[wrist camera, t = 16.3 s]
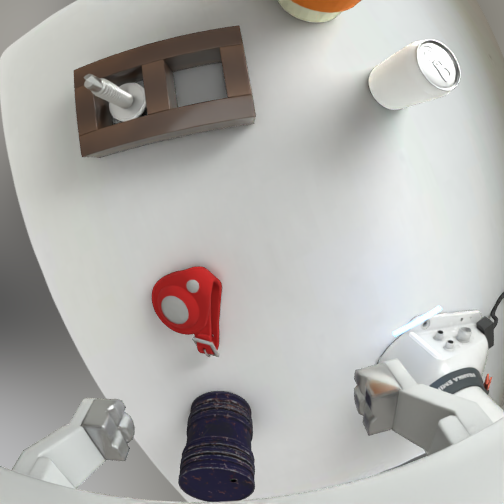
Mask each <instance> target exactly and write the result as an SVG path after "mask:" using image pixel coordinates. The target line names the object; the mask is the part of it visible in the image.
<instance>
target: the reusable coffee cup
mask: <svg viewBox="0 0 504 504" xmlns="http://www.w3.org/2000/svg"><path fill="white" fill-rule="evenodd" d="M360 1H361V0H278V2H279V4H280V5H281V7H282V8H283V9H284V10H285V11H286V12H287V13H289V14H290V15H292V16H294V17H296V18H297V19H300V20H303V21H307V22H313V23H321V22H327V21H330V20H332V19H334V18H335V17H337V16H338V15H339V14H340V13H341V12H342V11H345V10H348V9H350V8H352V7H354V6H355V5H356V4H357V3H358V2H360Z"/></svg>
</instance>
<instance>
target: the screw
mask: <svg viewBox="0 0 504 504" xmlns="http://www.w3.org/2000/svg"><path fill="white" fill-rule="evenodd" d="M84 79H86V81H85V83H84V86H85V87H86V88H87V89H89V90H91V92H92V93H93V94H94V95H95V96H97V97H99V98H101V99H104V100H106V101H108V102H109V109H110V112H111V114H112V116H113V117H114V118H115V119H117V120H119V121H122V122H124V121H128V120H131V119H135V118H138V117H139V116H140V115H141V114H142V113H143V112H144V110H145V108H146V99H145V91H144V88H143V87H142V86H140V85H139V84H137V83H126V84H123V85H121V86H120V87H118V86H117V85H115V84H113V83H112V82H110V81H109V80H106V79H104V78H98V77H96V76H94V75H92V74H87V75H86V76H85V77H84Z"/></svg>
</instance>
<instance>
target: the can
mask: <svg viewBox="0 0 504 504" xmlns="http://www.w3.org/2000/svg"><path fill="white" fill-rule="evenodd" d="M459 81H460V68H459V64H458V62H457V60H456V58H455V56H454V55H453V53H452V52H451V51H450V50H449V49H448V48H447V47H446V46H445V45H444V44H442V43H441V42H439V41H436V40H432V39H427V40H419V41H415V42H413V43H411V44H409V45H407V46H406V47H404V48H403V49H401V50H400V51H398V52H396V53H395V54H393V55H392V56H390V57H389V58H387V59H386V60H384V61H383V62H382V63H380V64H379V65H377V66H376V67H375V68H374V69H373V70H372V71H371V73H370V76H369V88H370V91H371V93H372V95H373V97H374V98H375V99H376V101H377V102H378V103H379V104H381V105H382V106H384V107H386V108H388V109H391V110H399V109H403V108H407V107H410V106H413V105H417V104H420V103H424V102H427V101H430V100H434V99H437V98H441V97H443V96H446V95H448V94H449V93H450V92H451V91H452V90H453V89H455V88H456V87H457V86H458V84H459Z"/></svg>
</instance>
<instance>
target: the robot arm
mask: <svg viewBox="0 0 504 504" xmlns="http://www.w3.org/2000/svg"><path fill="white" fill-rule="evenodd" d="M503 298H504V293H503V294H502V295H501V296H500V297H499V299H498V300H497V302H496V304H495V306H494V308H493V310H492V313H491V317H492V318H493V319H494V323H493V322H492V321H491V320H489V319H488V318H486V317H485V316H484V317H482V315H481V313H480V312H479V311H478V310H471V311H461V312H451V313H440V314H436V313H438V312H440V311H441V310H442V308H441V307H440V306H438V307H436V308H435V309H433V310H431V311H430V312H428V313H426V314H424V315H418V316H416V317H414V318H413V319H412V320H411V322H410V323H409V324H407V325H405V326H403V327H401V328H400V329H398V330H396V331H394V332H392V333H393V335H394V336H395V337H396V336H398V335H400V334H401V333H403V332H404V333H403V334H402V335H401V336H400V337H399V338H398V339H397V340H395V341H394V342H393V343H392V344H391V345H390V346H389V347H388V348H387V350H386V351H385V352H384V354H383V355H382V357H381V358H380V360H379V362H378V364H376V365H373V366H369V367H365V368H361V369H357V370H355V376H354V380H355V382H356V384H357V386H356V387H355V388H354V399H355V405H356V408H357V410H358V413H359V414H360V415H362V416H363V424H364V426H365V429H366V431H367V433H368V435H373V434H377V433H380V432H384V431H387V430H390V429H392V430H393V431H395V432H396V433H398V434H399V435H401V436H403V437H404V438H406V439H408V440H409V441H411V442H413V443H414V444H416V445H418V446H419V447H421V448H423V449H424V450H425V452H426V454H427V456H426V457H424V458H421V459H419V460H416V461H414V462H411V463H409V464H406V465H404V466H401V467H398V468H395V469H392V470H389V471H386V472H383V473H380V474H377V475H374V476H370V477H367V478H364V479H360V480H356V481H353V482H349V483H345V484H341V485H337V486H333V487H328V488H324V489H319V490H314V491H309V492H304V493H298V494H292V495H285V496H278V497H271V498H262V499H252V500H240V501H222V502H172V501H155V500H144V499H134V498H126V497H118V496H112V495H105V494H99V493H94V492H89V491H83V490H79V489H77V488H78V487H79V486H80V485H81V484H82V483H83V482H84V481H85V480H86V479H87V478H88V477H89V476H90V475H92V473H94V472H95V471H96V470H97V469H98V468H99V467H100V466H101V465H102V464H103V463H104V462H105V461H106V460H116V461H125V460H126V458H127V455H128V452H129V449H130V448H129V446H128V443H129V442H130V441H131V440H132V439H133V437H134V423H133V420H132V418H131V416H130V415H128V414H127V413H126V412H124V411H125V408H126V407H125V405H124V403H123V401H122V400H119V399H99V398H97V399H95V398H85V399H84V400H82V402H81V404H80V406H79V407H78V409H77V411H76V412H75V414H74V416H73V417H72V419H71V421H70V423H69V425H64V426H62V427H61V428H59V429H57V430H56V431H54V432H53V433H51V434H49V435H48V436H46V437H44V438H43V439H41V440H40V441H38V442H36V443H35V444H33V445H32V446H30V447H28V448H26V449H25V450H23V452H22V453H21V455H20V457H19V458H18V460H17V462H16V463H15V465H14V467H13V468H12V470H9V469H7V468H4V467H2V466H0V504H504V410H502V409H501V408H500V407H499V406H498V405H497V404H496V403H495V402H494V401H493V400H492V399H491V398H490V397H489V396H488V393H489V390H488V389H489V386H490V383H491V379H492V377H491V378H490V380H489V374H487V376H486V379H485V383H484V384H483V380H482V374H483V371H484V368H485V365H486V361H487V356H488V349H489V348H491V347H492V346H493V345H494V330H493V329H494V328H495V327H496V325H497V323H498V318H497V317H496V316H495V311H496V309H497V306H498V305H499V303H500V301H501V300H502V299H503ZM424 322H425V323H424ZM423 323H424V324H423ZM488 381H489V382H488Z"/></svg>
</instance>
